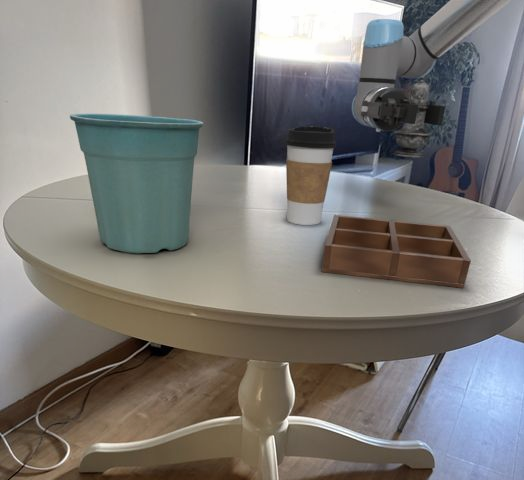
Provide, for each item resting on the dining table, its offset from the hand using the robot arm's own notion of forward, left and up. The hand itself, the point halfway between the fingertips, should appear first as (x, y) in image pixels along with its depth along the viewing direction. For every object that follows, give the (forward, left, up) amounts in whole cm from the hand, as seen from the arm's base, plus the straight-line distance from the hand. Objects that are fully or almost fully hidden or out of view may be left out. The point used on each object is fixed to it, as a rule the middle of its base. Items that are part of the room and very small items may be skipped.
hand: (427, 115), depth 75 cm
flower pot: (+38, +24, -18) cm, 48 cm away
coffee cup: (+18, +2, -18) cm, 25 cm away
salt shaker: (+1, -5, -7) cm, 9 cm away
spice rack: (+3, +19, -18) cm, 26 cm away
